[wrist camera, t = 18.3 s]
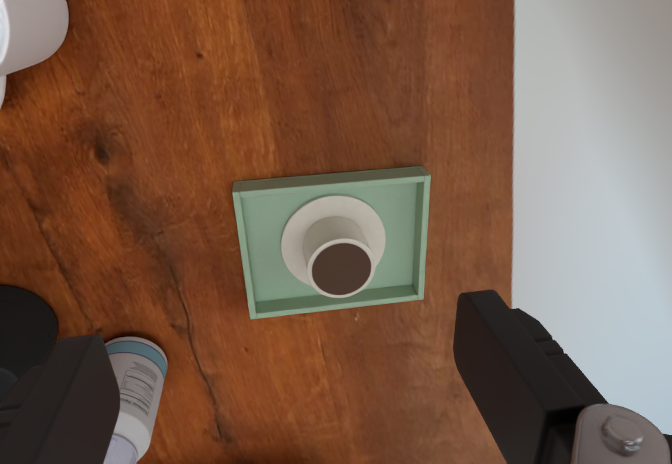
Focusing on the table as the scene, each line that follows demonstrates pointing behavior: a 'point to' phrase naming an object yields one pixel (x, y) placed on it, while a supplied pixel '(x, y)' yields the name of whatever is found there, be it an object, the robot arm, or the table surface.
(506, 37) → the table surface
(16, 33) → the cup
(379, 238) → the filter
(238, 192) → the tray
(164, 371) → the beverage can
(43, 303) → the pen holder
